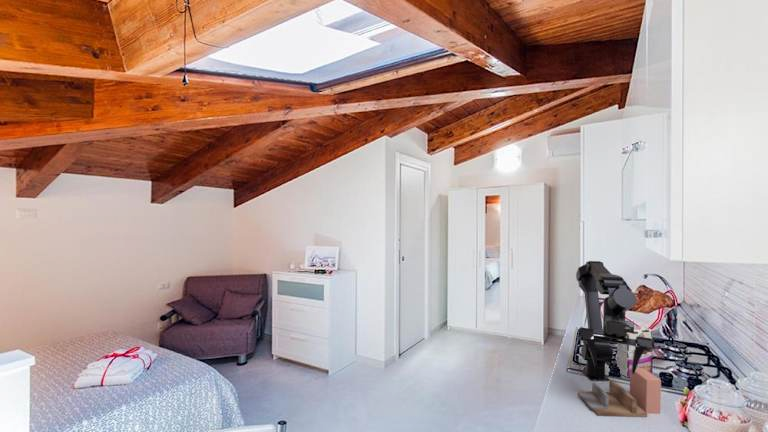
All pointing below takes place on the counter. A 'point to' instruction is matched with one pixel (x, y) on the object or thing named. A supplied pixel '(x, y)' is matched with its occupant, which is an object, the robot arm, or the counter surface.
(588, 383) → the counter surface
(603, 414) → the book rack
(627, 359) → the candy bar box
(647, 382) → the pink rectangular block
